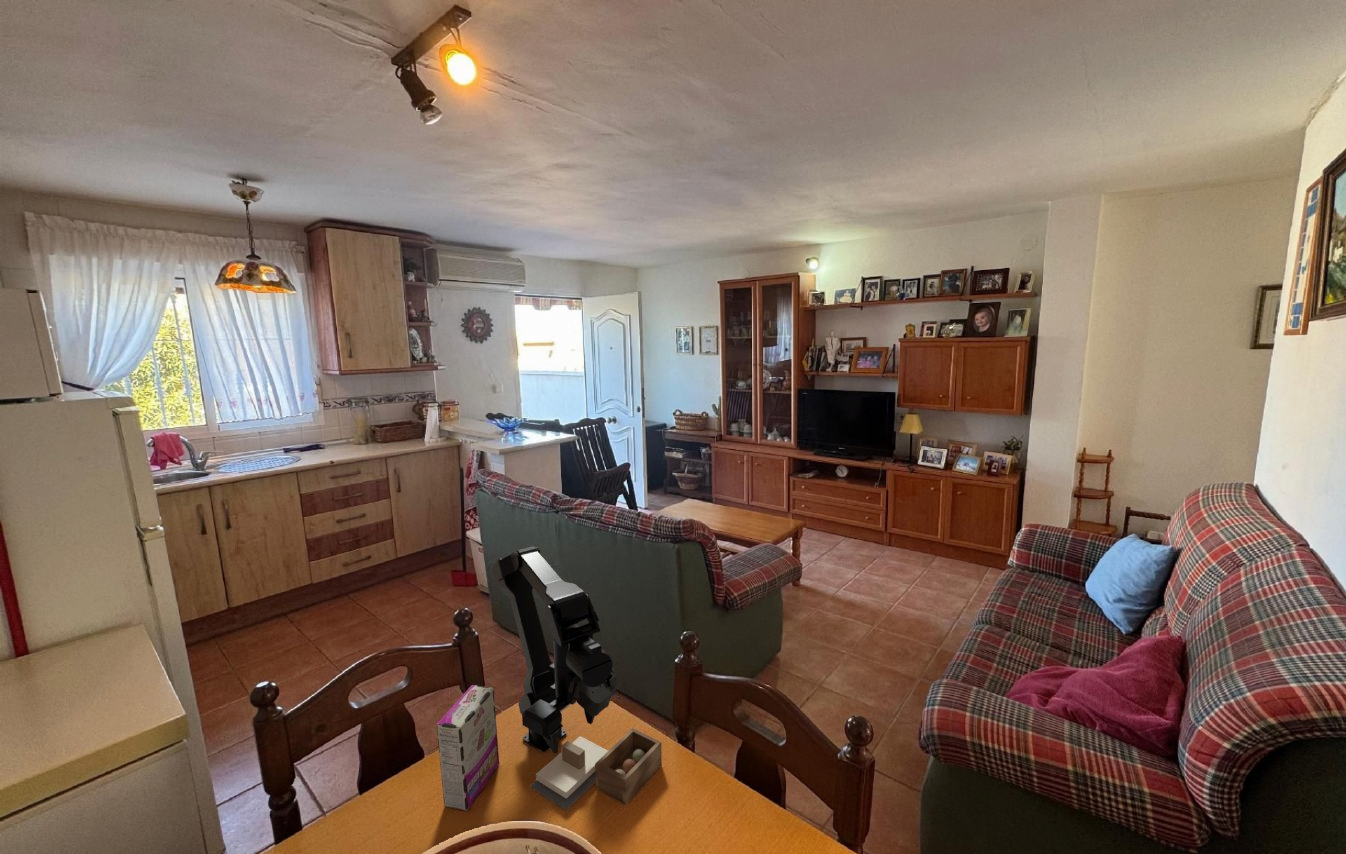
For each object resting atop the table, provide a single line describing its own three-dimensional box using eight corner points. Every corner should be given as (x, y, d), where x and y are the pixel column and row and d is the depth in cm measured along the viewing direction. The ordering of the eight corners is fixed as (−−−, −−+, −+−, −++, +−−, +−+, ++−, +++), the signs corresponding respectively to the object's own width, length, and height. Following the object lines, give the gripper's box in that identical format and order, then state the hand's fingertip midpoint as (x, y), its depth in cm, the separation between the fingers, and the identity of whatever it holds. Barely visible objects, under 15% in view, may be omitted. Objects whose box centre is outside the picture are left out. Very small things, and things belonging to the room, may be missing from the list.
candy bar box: (476, 760, 105) (471, 683, 103) (500, 764, 104) (495, 686, 102) (441, 808, 94) (434, 723, 92) (467, 813, 93) (461, 727, 91)
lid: (566, 803, 94) (565, 777, 94) (536, 784, 99) (535, 759, 98) (609, 761, 104) (609, 737, 103) (580, 745, 108) (579, 722, 107)
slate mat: (530, 787, 99) (530, 785, 98) (580, 744, 109) (580, 742, 109) (566, 810, 94) (566, 808, 94) (614, 763, 104) (614, 760, 104)
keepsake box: (625, 805, 95) (625, 780, 94) (595, 788, 98) (595, 763, 98) (661, 765, 104) (661, 742, 103) (632, 750, 108) (632, 728, 107)
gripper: (565, 702, 86) (568, 790, 88) (636, 648, 101) (638, 724, 103) (518, 679, 92) (522, 762, 94) (592, 632, 107) (594, 704, 110)
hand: (572, 737), depth 100 cm, fingers open, 9 cm apart
